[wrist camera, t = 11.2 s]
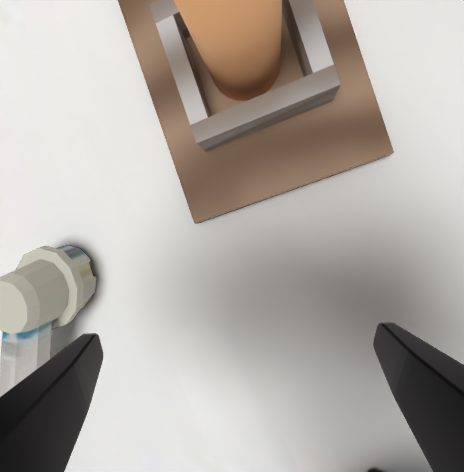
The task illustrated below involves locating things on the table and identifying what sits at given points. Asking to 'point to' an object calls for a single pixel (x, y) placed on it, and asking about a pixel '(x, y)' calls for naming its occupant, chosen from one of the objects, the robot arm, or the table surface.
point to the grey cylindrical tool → (39, 307)
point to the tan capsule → (237, 42)
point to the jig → (260, 107)
